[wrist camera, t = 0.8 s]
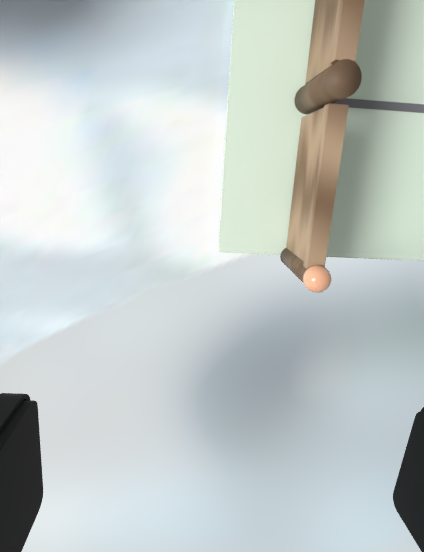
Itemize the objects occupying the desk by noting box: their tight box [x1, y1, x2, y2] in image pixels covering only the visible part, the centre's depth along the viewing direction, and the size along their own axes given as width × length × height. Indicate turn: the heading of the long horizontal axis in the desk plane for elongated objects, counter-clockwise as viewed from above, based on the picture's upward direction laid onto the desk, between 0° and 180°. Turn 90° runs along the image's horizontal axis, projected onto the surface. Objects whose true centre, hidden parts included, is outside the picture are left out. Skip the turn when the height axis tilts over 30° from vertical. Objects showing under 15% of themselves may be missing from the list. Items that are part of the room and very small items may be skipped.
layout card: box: [218, 0, 424, 261], centre depth 28 cm, size 23×20×1 cm
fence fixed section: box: [295, 0, 365, 114], centre depth 23 cm, size 11×2×7 cm, turn 177°
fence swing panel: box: [281, 103, 349, 292], centre depth 25 cm, size 12×2×8 cm, turn 177°
